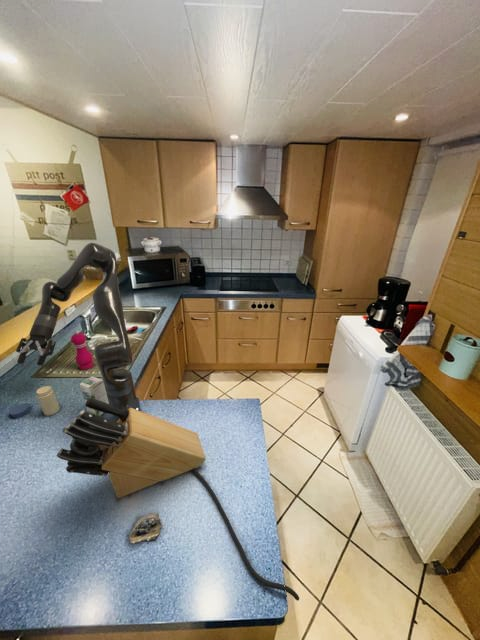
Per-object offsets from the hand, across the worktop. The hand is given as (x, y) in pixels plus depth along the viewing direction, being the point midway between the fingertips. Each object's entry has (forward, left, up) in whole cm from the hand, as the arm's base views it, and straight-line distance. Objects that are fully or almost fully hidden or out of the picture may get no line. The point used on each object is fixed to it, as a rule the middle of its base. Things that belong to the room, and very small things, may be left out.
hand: (29, 364), depth 101 cm
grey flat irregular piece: (-76, +19, -16) cm, 80 cm away
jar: (-13, +4, -16) cm, 21 cm away
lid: (-3, +10, -14) cm, 17 cm away
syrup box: (-30, -4, -16) cm, 34 cm away
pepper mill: (+2, -22, -16) cm, 27 cm away
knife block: (-65, +7, -16) cm, 68 cm away
